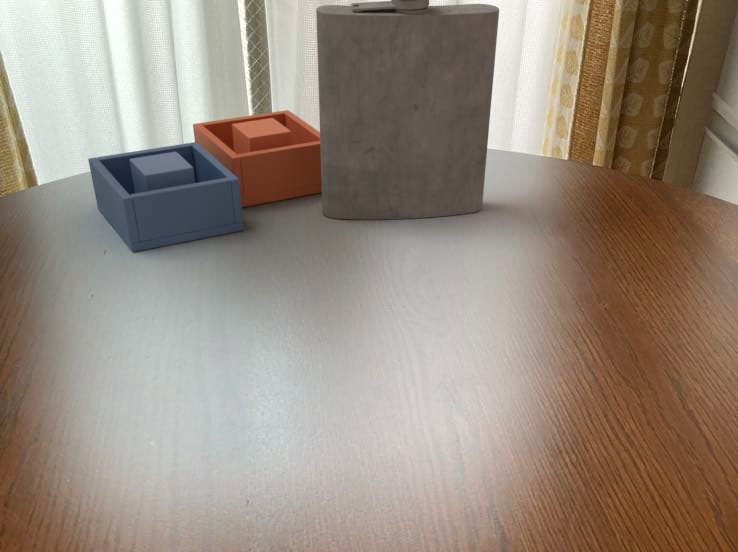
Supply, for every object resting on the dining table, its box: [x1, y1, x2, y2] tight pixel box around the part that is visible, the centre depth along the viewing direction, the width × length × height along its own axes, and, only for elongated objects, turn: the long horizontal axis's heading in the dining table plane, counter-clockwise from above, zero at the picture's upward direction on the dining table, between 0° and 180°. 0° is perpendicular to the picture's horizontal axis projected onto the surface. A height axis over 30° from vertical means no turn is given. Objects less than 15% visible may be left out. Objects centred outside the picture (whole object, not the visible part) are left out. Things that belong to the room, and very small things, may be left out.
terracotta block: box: [232, 118, 292, 155], centre depth 93 cm, size 4×4×4 cm
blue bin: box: [87, 141, 244, 253], centre depth 86 cm, size 11×11×5 cm
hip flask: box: [315, 0, 500, 221], centre depth 84 cm, size 16×4×20 cm, turn 100°
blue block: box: [130, 152, 195, 193], centre depth 85 cm, size 4×4×4 cm
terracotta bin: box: [192, 109, 322, 208], centre depth 93 cm, size 11×11×5 cm
